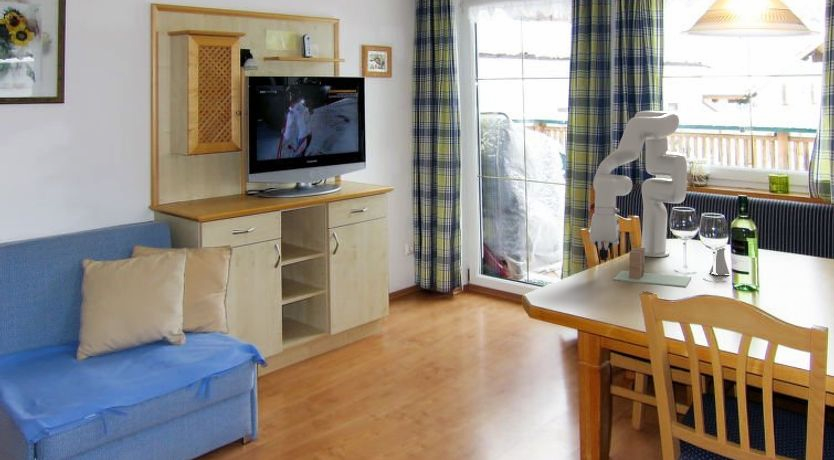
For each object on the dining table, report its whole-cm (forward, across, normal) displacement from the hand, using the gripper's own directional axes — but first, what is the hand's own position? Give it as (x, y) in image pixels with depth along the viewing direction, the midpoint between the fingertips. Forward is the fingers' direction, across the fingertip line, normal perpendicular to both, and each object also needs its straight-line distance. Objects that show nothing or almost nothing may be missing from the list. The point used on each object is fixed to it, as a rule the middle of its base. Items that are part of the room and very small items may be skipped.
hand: (603, 259), depth 284 cm
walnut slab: (+5, -12, 0) cm, 13 cm away
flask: (+6, -39, -17) cm, 43 cm away
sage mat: (+6, -18, 0) cm, 19 cm away
